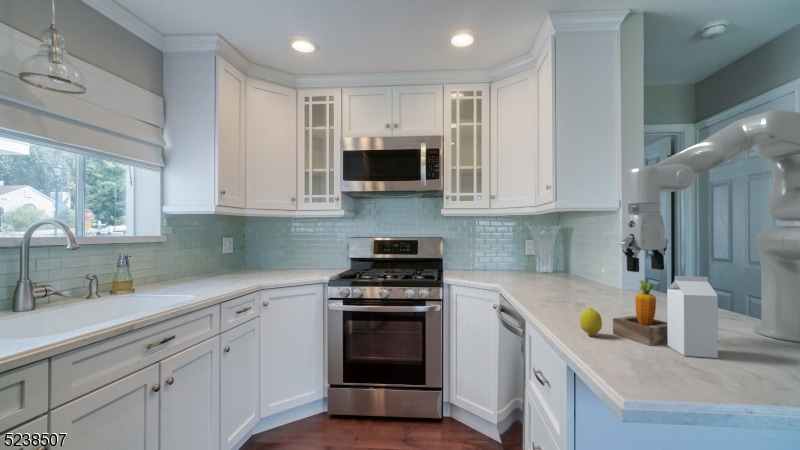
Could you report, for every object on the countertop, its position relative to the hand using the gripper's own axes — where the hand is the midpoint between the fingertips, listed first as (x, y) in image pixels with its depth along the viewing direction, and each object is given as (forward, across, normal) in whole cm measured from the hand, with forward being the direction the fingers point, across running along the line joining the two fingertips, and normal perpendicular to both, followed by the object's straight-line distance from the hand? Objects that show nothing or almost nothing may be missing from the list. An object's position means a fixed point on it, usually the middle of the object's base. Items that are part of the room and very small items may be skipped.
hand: (645, 270), depth 97 cm
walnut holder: (+19, -1, 0) cm, 19 cm away
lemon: (+19, -14, +6) cm, 24 cm away
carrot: (+18, 0, 0) cm, 18 cm away
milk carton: (+19, -1, -12) cm, 23 cm away
